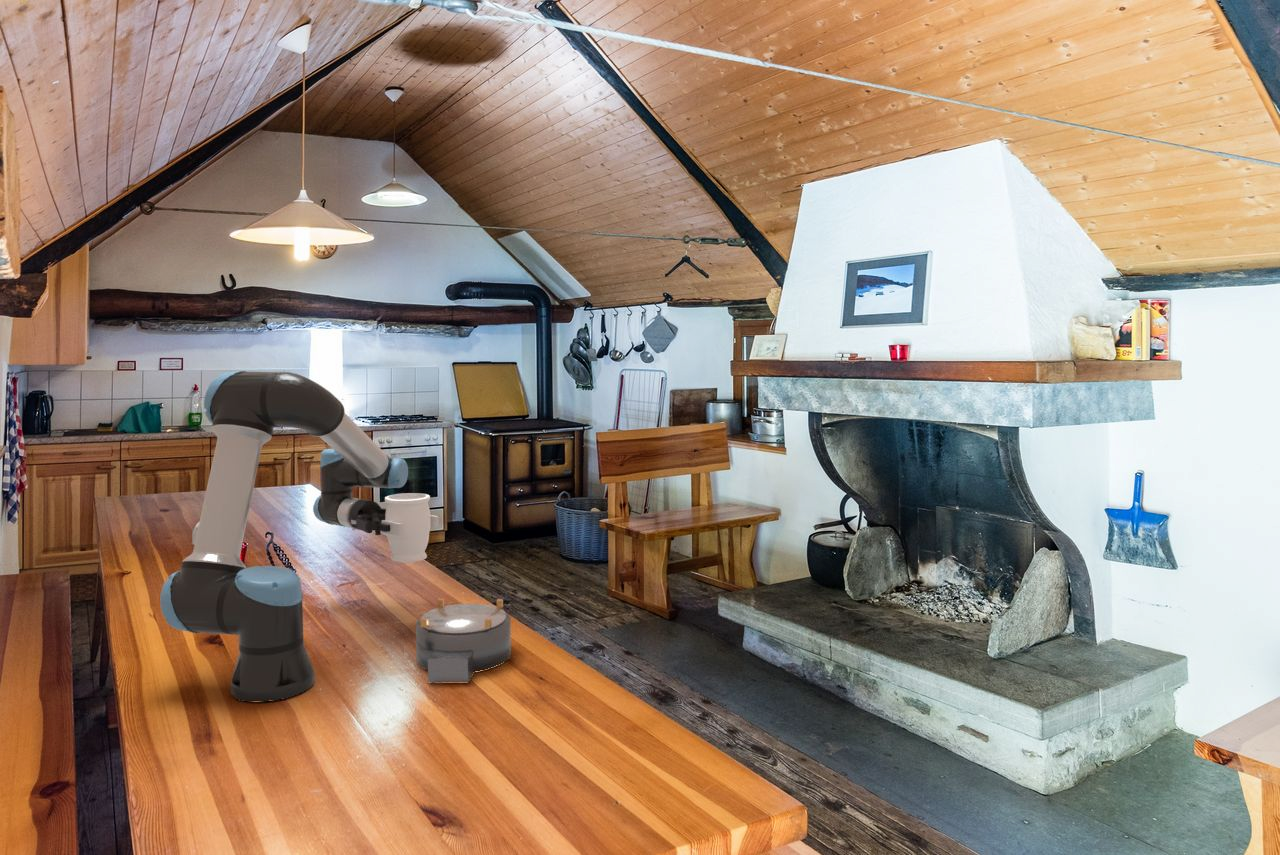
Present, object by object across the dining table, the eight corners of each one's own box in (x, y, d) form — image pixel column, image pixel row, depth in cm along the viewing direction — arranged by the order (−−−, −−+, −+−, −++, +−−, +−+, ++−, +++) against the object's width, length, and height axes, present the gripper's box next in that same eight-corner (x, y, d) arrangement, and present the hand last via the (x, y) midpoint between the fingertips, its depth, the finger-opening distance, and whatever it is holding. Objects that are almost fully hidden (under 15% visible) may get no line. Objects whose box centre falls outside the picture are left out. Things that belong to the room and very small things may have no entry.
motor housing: (498, 683, 168) (497, 632, 166) (398, 683, 168) (396, 631, 167) (517, 640, 192) (517, 595, 191) (430, 639, 192) (429, 594, 191)
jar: (382, 556, 201) (381, 494, 200) (426, 551, 206) (425, 491, 204) (389, 566, 192) (388, 501, 190) (435, 561, 196) (434, 498, 195)
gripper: (398, 521, 218) (456, 533, 205) (320, 537, 200) (379, 550, 187) (397, 493, 217) (456, 502, 204) (319, 506, 199) (378, 517, 186)
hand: (419, 525), depth 195 cm, fingers closed on jar, 10 cm apart
